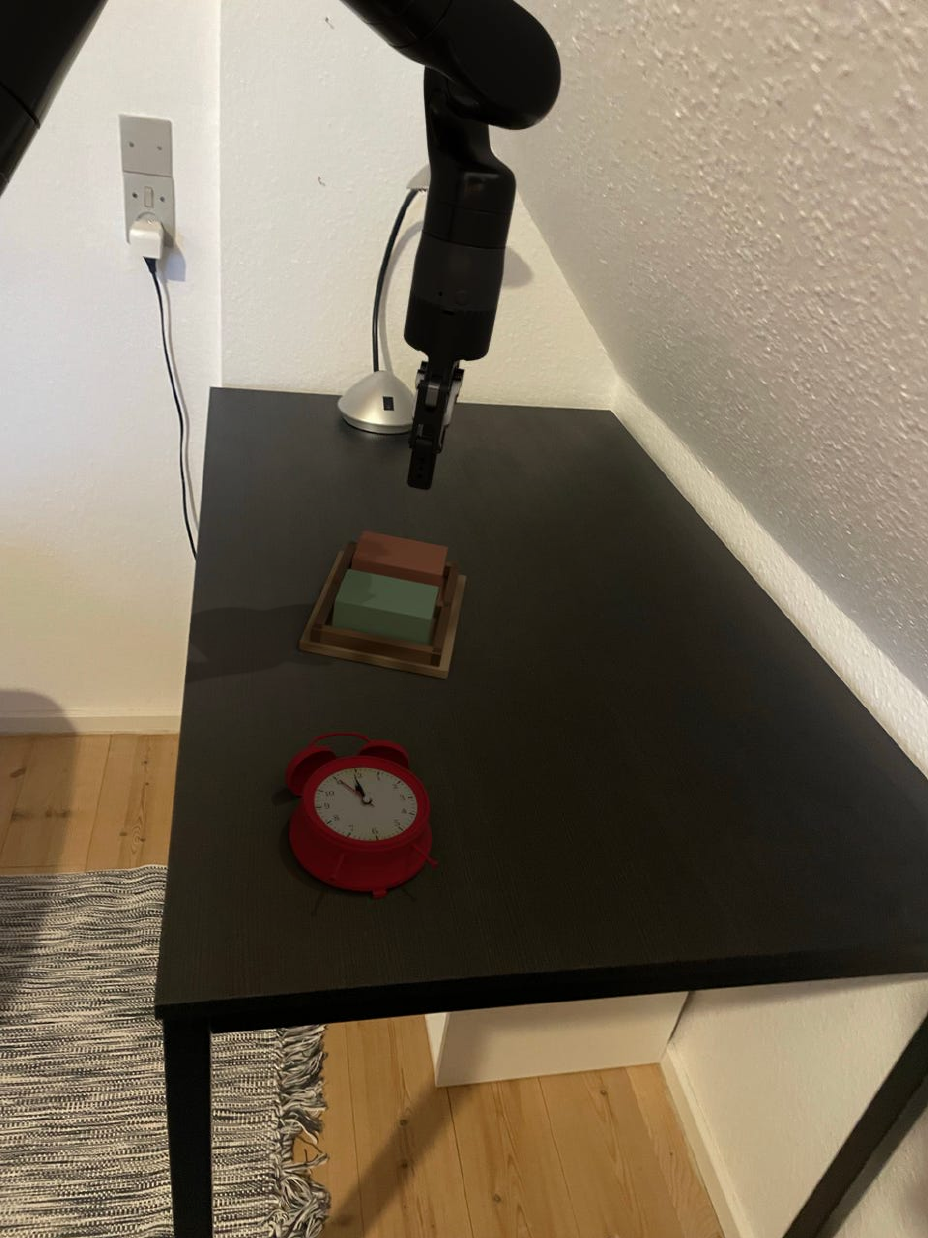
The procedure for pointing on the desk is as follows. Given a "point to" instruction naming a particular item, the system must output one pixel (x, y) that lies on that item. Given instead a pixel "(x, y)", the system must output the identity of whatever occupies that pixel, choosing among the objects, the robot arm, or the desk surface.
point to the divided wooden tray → (383, 649)
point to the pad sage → (385, 606)
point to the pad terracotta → (400, 558)
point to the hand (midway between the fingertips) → (424, 468)
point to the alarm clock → (359, 816)
